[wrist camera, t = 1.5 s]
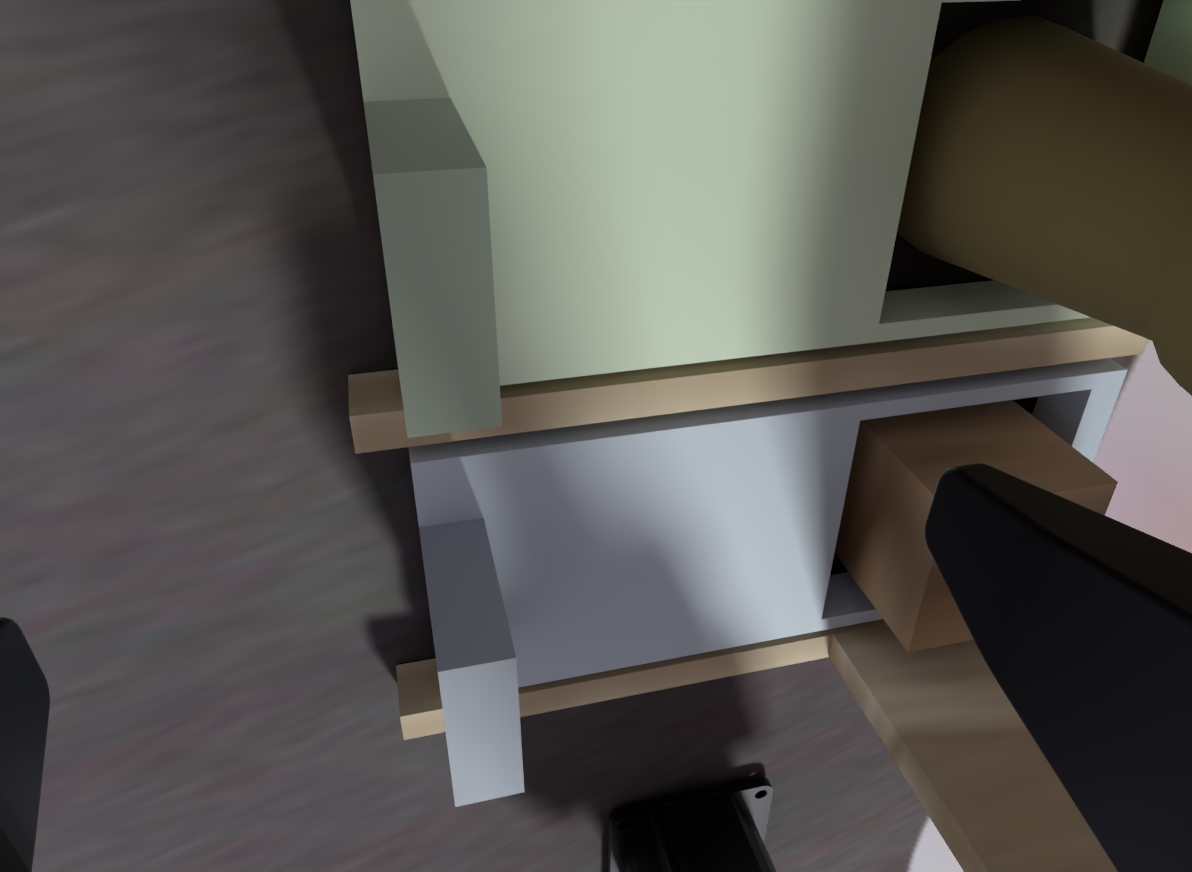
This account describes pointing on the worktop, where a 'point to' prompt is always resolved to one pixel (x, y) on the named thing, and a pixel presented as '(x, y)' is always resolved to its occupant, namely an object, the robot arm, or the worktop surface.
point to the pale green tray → (651, 185)
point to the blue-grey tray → (661, 539)
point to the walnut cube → (905, 492)
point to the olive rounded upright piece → (1060, 177)
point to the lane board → (859, 652)
